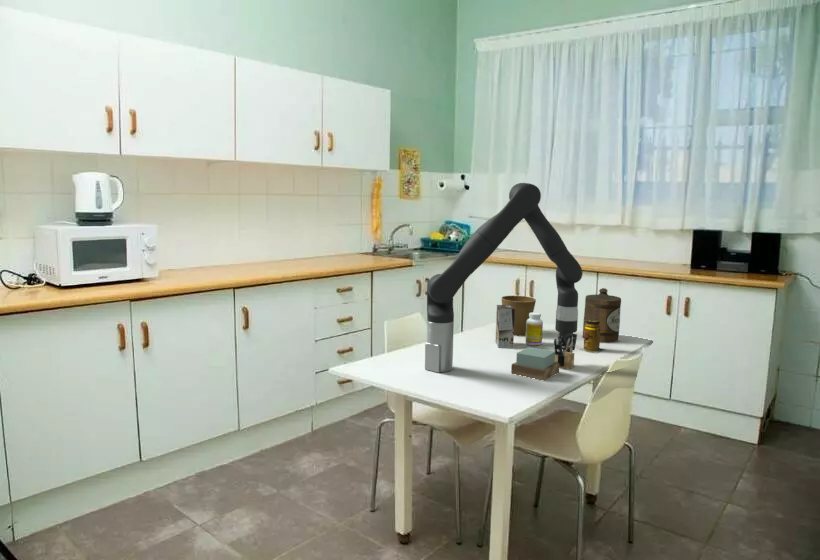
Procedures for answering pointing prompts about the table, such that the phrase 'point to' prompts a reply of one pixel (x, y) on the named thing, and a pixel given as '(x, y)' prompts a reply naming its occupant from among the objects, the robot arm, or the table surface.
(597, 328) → the condiment
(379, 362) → the table surface
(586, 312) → the wooden container
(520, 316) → the plant pot
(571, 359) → the oak block
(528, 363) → the tower top slab
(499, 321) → the coffee box
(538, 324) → the supplement bottle
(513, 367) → the tower bottom slab
